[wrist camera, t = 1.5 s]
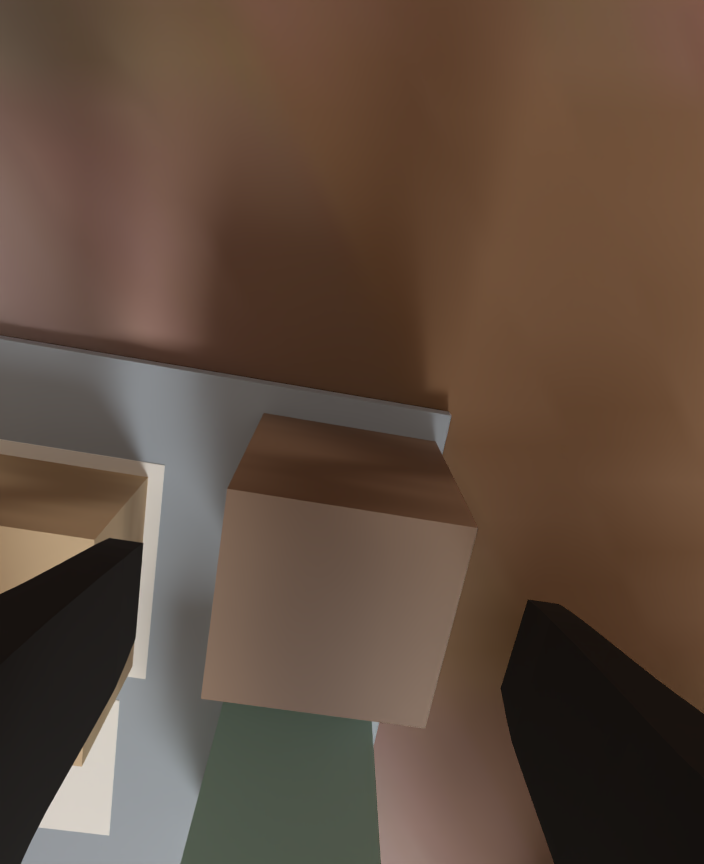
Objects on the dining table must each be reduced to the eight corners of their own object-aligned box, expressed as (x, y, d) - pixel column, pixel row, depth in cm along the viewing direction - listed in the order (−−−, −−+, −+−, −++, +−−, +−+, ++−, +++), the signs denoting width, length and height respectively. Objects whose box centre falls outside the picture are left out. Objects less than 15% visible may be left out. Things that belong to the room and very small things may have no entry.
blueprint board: (448, 411, 15) (451, 416, 15) (316, 975, 22) (316, 989, 21) (-145, 310, 14) (-158, 312, 14) (-103, 933, 21) (-112, 946, 20)
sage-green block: (371, 718, 18) (382, 889, 13) (346, 828, 19) (347, 1020, 14) (223, 699, 18) (179, 866, 13) (208, 812, 19) (162, 1002, 14)
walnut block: (435, 441, 15) (478, 528, 10) (401, 590, 17) (425, 728, 12) (263, 412, 15) (227, 488, 10) (242, 567, 16) (200, 699, 12)
